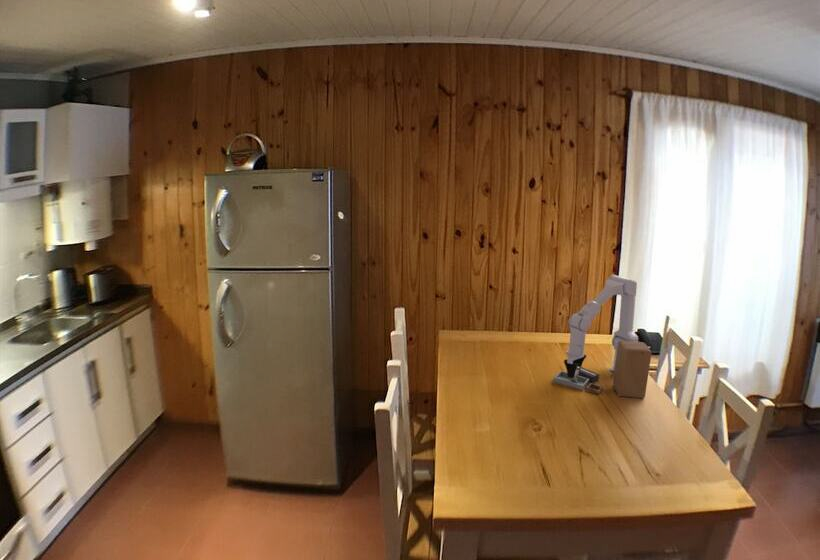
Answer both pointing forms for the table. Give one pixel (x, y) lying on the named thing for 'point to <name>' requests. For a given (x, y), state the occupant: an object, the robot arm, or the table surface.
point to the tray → (566, 381)
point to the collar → (594, 389)
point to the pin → (576, 375)
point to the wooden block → (631, 369)
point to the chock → (589, 375)
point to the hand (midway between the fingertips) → (573, 374)
